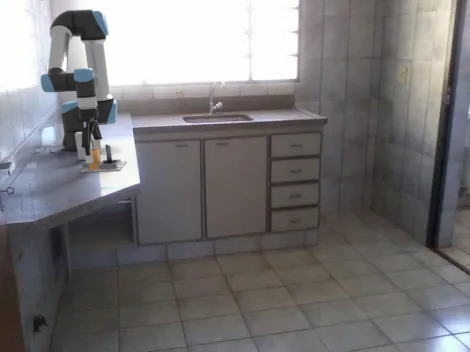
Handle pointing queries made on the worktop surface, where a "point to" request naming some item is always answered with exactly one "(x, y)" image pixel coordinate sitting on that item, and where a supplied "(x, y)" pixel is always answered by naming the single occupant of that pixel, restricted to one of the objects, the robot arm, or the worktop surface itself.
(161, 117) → the worktop surface
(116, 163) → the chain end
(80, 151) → the skincare box
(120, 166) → the post
